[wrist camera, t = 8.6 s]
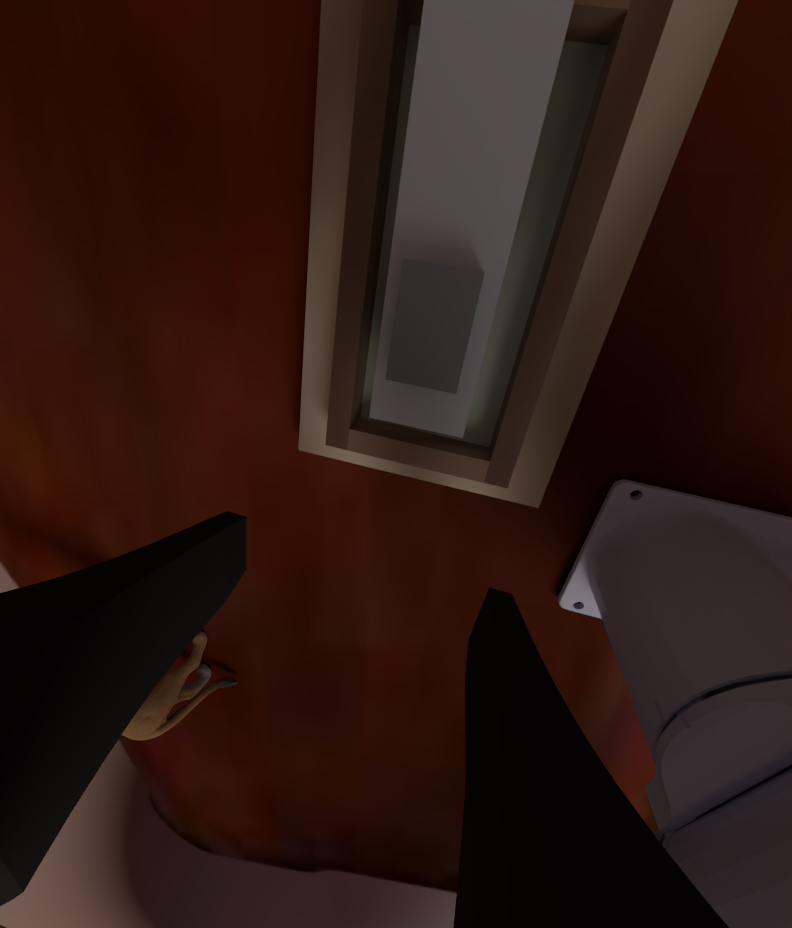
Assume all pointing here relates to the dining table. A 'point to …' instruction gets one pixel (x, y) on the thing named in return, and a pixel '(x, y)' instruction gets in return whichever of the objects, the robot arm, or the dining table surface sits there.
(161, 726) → the lion figurine
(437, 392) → the grey pillar with nub
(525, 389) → the cradle jig
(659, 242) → the dining table surface
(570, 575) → the robot arm
